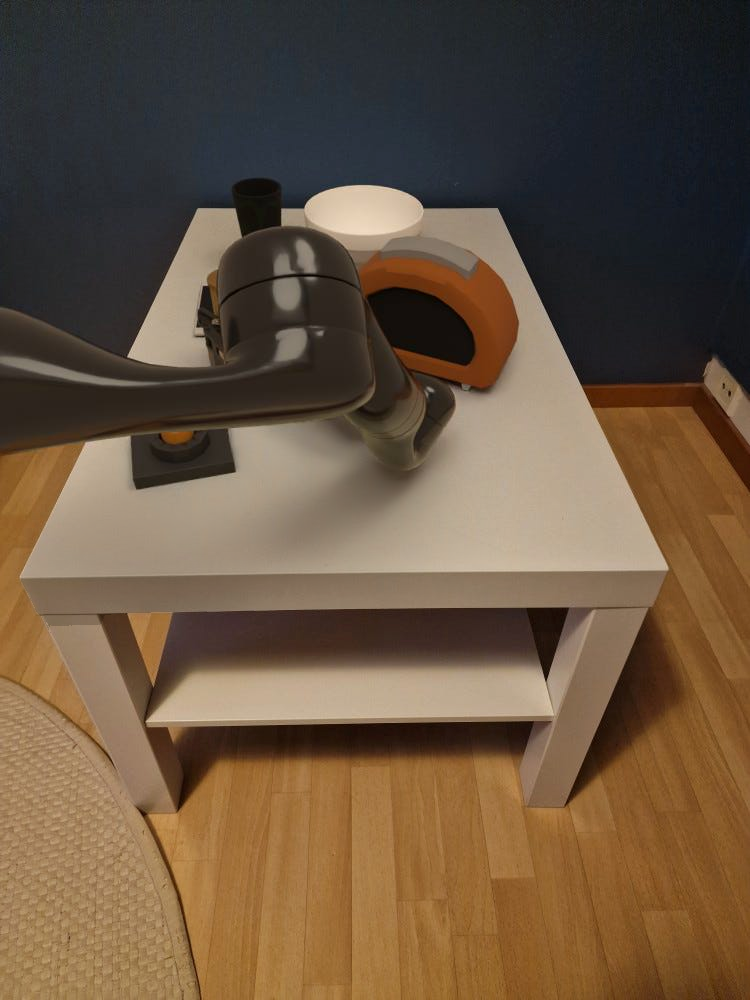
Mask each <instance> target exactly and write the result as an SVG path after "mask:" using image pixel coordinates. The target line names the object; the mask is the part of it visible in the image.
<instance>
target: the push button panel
mask: <svg viewBox="0 0 750 1000" xmlns="http://www.w3.org/2000/svg"><path fill="white" fill-rule="evenodd" d="M129 438H130V450H131V451H130V453H131V455H130V456H131V473H132V481H133V485H134V487H135V489H136V490H141V489H146V488H147V489H148V488H152V487H158V486H163V485H169V484H174V483H180V482H186V481H192V480H197V479H198V480H199V479H203V478H209V477H215V476H221V475H226V474H232V473H236V466H235V461H234V456H233V451H232V446H231V440H230V436H229V432H228V428H227V429H213V430H198V431H194V435H193V437H192V438H191V439H190V440H188V441H186V442H185V443H179V444H169V443H166V442H165V441H164V440H163V439H162V436H161V433H156V434H146V435H136V436H129Z"/></svg>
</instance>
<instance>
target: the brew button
mask: <svg viewBox="0 0 750 1000" xmlns="http://www.w3.org/2000/svg"><path fill="white" fill-rule="evenodd" d="M193 435H194V431H184V432H170V433H161V436H162V439H163V440H164V441H165V442H166V443H169V444H179V443H185V442H186V441H188V440H190V439H191V438H192V437H193Z"/></svg>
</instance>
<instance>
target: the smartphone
mask: <svg viewBox="0 0 750 1000" xmlns="http://www.w3.org/2000/svg"><path fill="white" fill-rule="evenodd" d="M202 307H203V308H205V309H207V310H208V311H210V312H211V313H213V314H214V309H213V303H212V298H211V292H210V287H209V286H208V284H207V281H203V282H201V284H200V291H199V296H198V303H197V308H196V314H195V319H194V320H195V321H194V327H193V336H195V337H205V336H204V332H203V328H202V327H200V326H199V323H198V318H197V314H198V312H197V310H198V309H200V308H202Z"/></svg>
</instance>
